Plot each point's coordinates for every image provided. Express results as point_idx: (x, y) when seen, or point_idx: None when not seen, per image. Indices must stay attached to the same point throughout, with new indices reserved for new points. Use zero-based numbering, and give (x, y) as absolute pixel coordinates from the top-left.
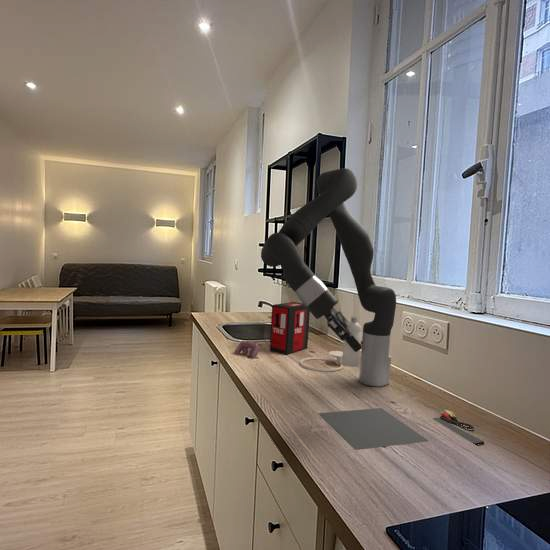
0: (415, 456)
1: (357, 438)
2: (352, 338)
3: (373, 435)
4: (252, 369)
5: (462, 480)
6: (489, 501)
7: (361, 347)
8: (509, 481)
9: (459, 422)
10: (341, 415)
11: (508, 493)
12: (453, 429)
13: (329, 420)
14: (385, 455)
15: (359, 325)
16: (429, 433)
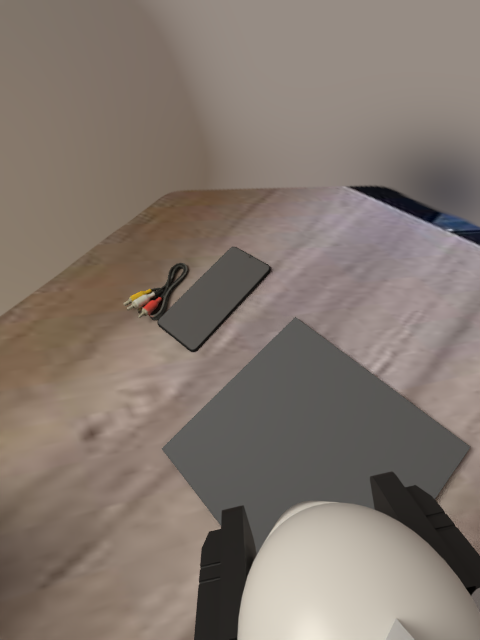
0: (373, 331)
1: (404, 459)
2: (474, 575)
3: (356, 425)
4: None
5: (398, 260)
6: (431, 228)
7: (389, 472)
8: (347, 215)
9: (168, 283)
10: None
11: (385, 214)
12: (206, 289)
13: None
14: (419, 381)
15: (370, 543)
16: (245, 325)
